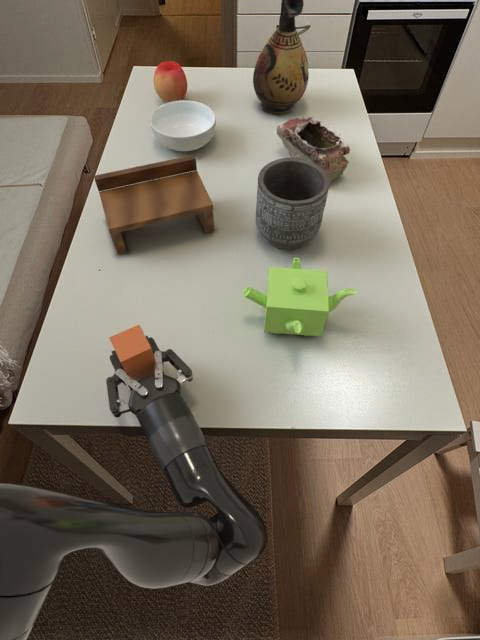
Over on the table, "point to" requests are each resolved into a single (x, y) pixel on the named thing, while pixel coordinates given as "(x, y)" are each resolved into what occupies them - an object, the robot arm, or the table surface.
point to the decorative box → (315, 144)
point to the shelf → (153, 196)
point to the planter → (291, 201)
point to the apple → (170, 81)
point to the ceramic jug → (282, 64)
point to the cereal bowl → (183, 125)
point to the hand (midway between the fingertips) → (130, 346)
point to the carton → (134, 352)
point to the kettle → (296, 300)
